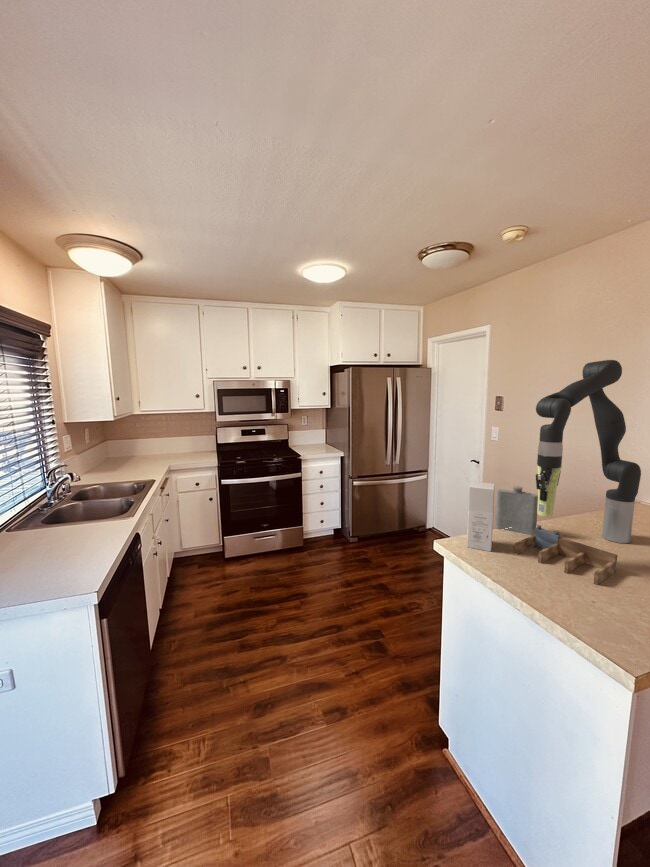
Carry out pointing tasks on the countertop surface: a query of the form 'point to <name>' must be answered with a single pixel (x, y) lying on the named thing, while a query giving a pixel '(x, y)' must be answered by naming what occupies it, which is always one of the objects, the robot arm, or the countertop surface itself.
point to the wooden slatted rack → (569, 552)
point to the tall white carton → (480, 515)
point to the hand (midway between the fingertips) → (546, 498)
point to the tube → (548, 495)
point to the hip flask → (516, 510)
